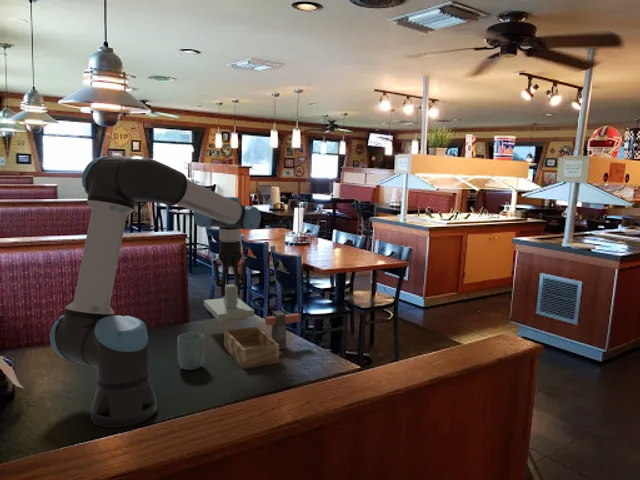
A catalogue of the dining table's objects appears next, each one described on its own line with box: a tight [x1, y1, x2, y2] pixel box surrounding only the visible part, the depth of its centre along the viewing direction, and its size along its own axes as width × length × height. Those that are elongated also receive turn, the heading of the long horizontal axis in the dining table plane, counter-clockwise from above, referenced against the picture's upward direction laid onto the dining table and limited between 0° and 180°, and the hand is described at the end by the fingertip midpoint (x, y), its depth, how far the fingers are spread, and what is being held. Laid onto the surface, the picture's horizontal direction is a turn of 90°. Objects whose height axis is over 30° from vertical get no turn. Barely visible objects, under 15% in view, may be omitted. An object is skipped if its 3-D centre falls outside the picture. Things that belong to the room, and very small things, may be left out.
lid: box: [203, 283, 255, 323], centre depth 179 cm, size 21×13×12 cm, turn 27°
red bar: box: [264, 312, 301, 326], centre depth 169 cm, size 2×12×2 cm, turn 117°
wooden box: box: [223, 310, 287, 370], centre depth 162 cm, size 20×19×12 cm
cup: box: [176, 332, 205, 371], centre depth 149 cm, size 8×8×10 cm
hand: (230, 304), depth 177 cm, fingers closed on lid, 3 cm apart
